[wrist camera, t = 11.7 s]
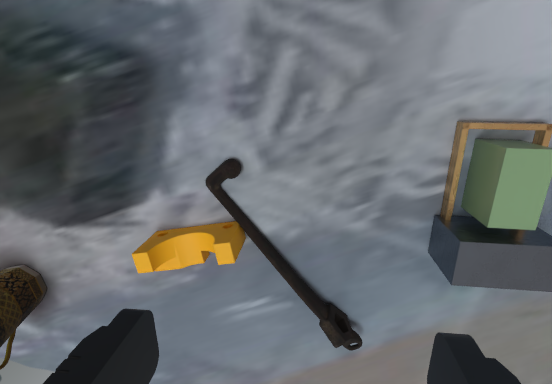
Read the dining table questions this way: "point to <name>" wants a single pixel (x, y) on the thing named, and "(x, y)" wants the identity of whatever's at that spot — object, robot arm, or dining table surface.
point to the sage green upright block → (507, 183)
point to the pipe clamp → (189, 247)
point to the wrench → (285, 265)
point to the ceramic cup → (17, 300)
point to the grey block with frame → (489, 233)
